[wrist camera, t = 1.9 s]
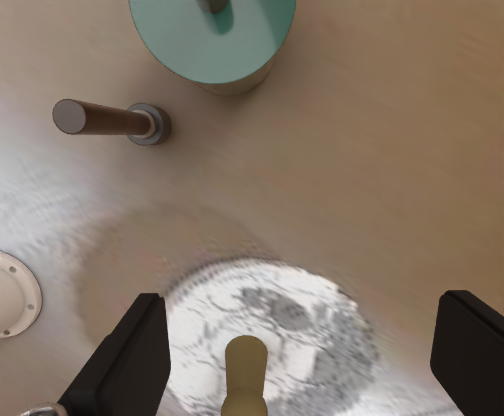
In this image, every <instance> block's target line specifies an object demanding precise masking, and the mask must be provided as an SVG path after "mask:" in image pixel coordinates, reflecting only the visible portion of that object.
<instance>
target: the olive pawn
mask: <svg viewBox="0 0 504 416" xmlns="http://www.w3.org/2000/svg"><path fill="white" fill-rule="evenodd" d="M267 353H268V352H267V348H266V346H265V345H264V343H263V342H262V341H261V340H259V339H258V338H256V337H253V336H246V335H244V336H239V337H236V338H235V339H233V340H231V342H230V343H229V344H228V345H227V347H226V350H225V362H226V383H227V397H226V398H225V400H224V403H223V405H222V409H221V416H268V410H267V406H266V403H265V400H264V398H263V389H264V381H265V372H266V363H267Z"/></svg>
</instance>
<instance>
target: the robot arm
mask: <svg viewBox="0 0 504 416" xmlns="http://www.w3.org/2000/svg"><path fill="white" fill-rule="evenodd" d="M41 304H42V297H41V291H40V287H39V285H38V283H37V281H36V279H35V277H34V276H33V274H32V273H31V271H30V270H29V269H28V268H27V267H26V266H25V265H24V264H23V263H21V262H20V261H19V260H17V259H16V258H14V257H12V256H10V255H8V254H6V253H3V252H0V338H5V337H11V336H14V335H16V334H19V333H21V332H22V331H24V330H25V329H26V328H28V327H29V326H30V325H31V324H32V323H33V322H34V321H35V319H36V318H37V317H38V314H39V312H40V309H41ZM430 367H431V370H432V373H433V374H434V376H435V377H436V379H437V380H438V381H439V383H440V384H441V385H442V387H443V388H444V389H445V391H446V392H447V393H448V395H449V396H450V397H451V399H452V400H453V401H454V403H455V404H456V405H457V407H458V408H459V409H460V411H461V412H462V413H463V415H464V416H504V317H503V316H502V315H501V314H499V313H498V312H497V311H495V310H494V309H492V308H491V307H490V306H488V305H487V304H486V303H484V302H483V301H481V300H480V299H479V298H477V297H476V296H475V295H473V294H472V293H470V292H469V291H467V290H448V291H446V292H445V293H444V295H442V296H441V297H440V300H439V306H438V313H437V319H436V326H435V333H434V339H433V346H432V353H431V359H430ZM170 370H171V361H170V350H169V340H168V330H167V319H166V309H165V300H164V298H160V297H159V294H158V293H141V294H139V296H138V297H137V298H136V300H135V301H134V303H133V304H132V305H131V307H130V308H129V309H128V311H127V312H126V314H125V315H124V316H123V318H122V319H121V320H120V322H119V323H118V325H117V326H116V327H115V329H114V330H113V331H112V333H111V334H110V335H107V336H106V337H105V339H104V340H103V341H102V343H101V344H100V345H99V347H98V348H97V349H96V351H95V352H94V353H93V355H92V356H91V357H90V359H89V360H88V361H87V363H86V364H85V365H84V367H83V368H82V370H81V371H80V372H79V374H78V375H77V376H76V378H75V379H74V380H73V382H72V383H71V384H70V386H69V387H68V388H67V390H66V391H65V393H64V394H63V395H62V397H61V398H60V399H59V401H58V402H57V403H49V402H48V403H43V404H37V405H35V406H32V407H30V408H27V409H25V410H23V411H21V412H19V413H18V414H16V415H14V416H155V415H156V413H157V410H158V407H159V404H160V401H161V398H162V396H163V393H164V390H165V387H166V384H167V381H168V379H169V376H170Z"/></svg>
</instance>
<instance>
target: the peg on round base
mask: <svg viewBox="0 0 504 416" xmlns="http://www.w3.org/2000/svg"><path fill="white" fill-rule="evenodd" d="M53 120H54V122H55V124H56V126H57V127H58V128H59V129H60V130H61V131H63V132H64V133H67V134H71V135H127V137H128V138H129V139H130V140H131V141H133V142H134V143H136V144H138V145H143V146H147V145H157V144H160V143H162V142H164V141H165V140H166V139H167V138H168V136H169V134H170V131H171V123H170V119H169V117H168V115H167V114H166V113H165V112H164V111H163V110H162V109H160V108H158V107H156V106H153V105H149V104H145V103H137V104H134V105H132V106H131V107H129V108H128V109H127V111H126V110H121V109H116V108H111V107H106V106H102V105H97V104H92V103H87V102H82V101H77V100H72V99H63V100H61V101H59V102H58V103H57V104H56V105H55V107H54V109H53Z"/></svg>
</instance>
